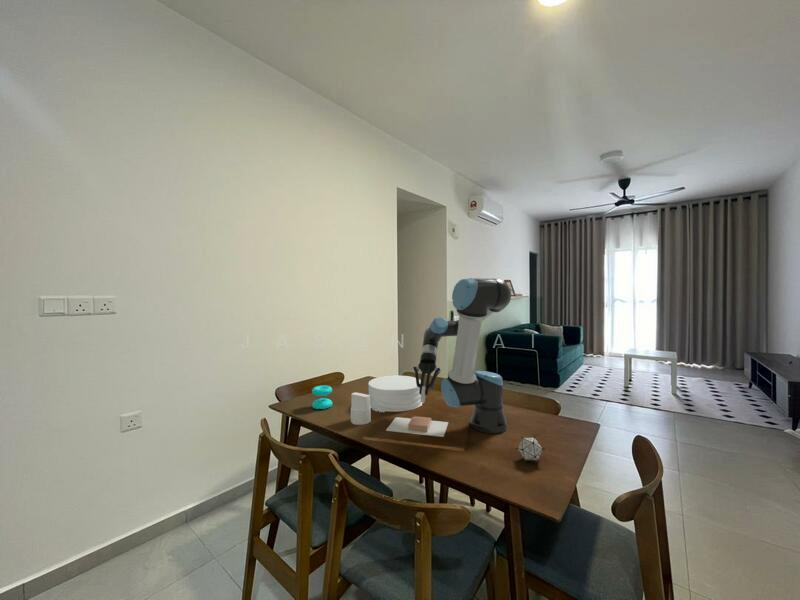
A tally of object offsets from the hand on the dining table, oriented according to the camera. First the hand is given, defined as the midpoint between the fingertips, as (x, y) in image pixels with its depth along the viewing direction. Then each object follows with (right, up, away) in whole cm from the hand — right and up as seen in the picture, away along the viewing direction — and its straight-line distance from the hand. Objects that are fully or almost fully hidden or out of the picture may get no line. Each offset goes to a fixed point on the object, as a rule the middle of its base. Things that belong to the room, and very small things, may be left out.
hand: (422, 401), depth 145 cm
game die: (+35, -11, -31) cm, 48 cm away
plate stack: (-12, -10, +27) cm, 32 cm away
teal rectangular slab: (0, -8, -1) cm, 8 cm away
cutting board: (-2, -10, -4) cm, 11 cm away
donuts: (-50, -10, +24) cm, 56 cm away
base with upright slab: (-28, -11, +5) cm, 30 cm away
